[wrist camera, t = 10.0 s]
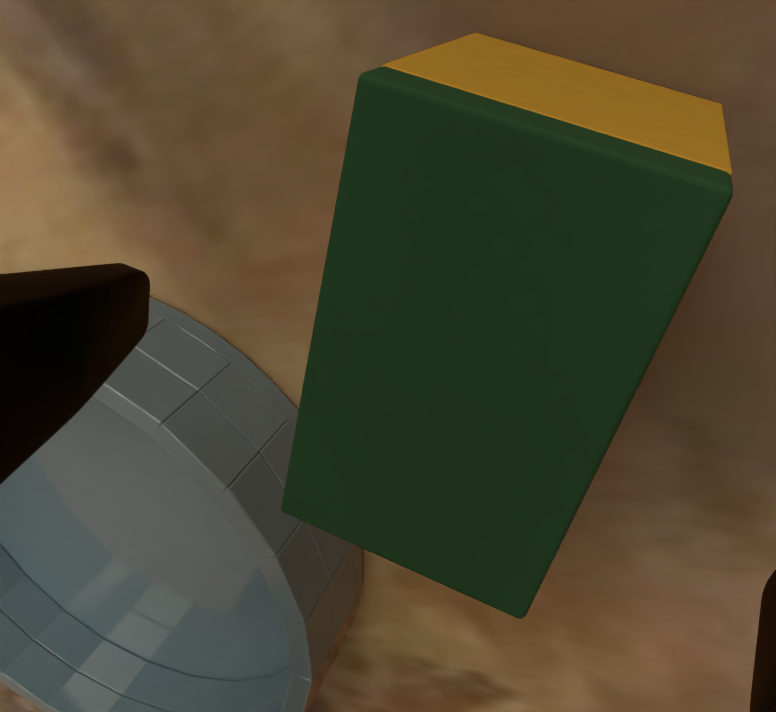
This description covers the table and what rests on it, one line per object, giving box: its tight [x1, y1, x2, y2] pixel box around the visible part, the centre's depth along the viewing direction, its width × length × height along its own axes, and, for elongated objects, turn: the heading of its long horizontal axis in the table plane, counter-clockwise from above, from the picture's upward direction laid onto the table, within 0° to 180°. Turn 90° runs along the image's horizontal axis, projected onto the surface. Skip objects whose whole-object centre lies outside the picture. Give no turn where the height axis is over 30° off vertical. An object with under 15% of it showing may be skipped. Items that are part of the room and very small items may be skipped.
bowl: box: [0, 297, 363, 712], centre depth 22 cm, size 15×15×4 cm
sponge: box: [281, 33, 733, 619], centre depth 13 cm, size 8×4×6 cm, turn 167°
